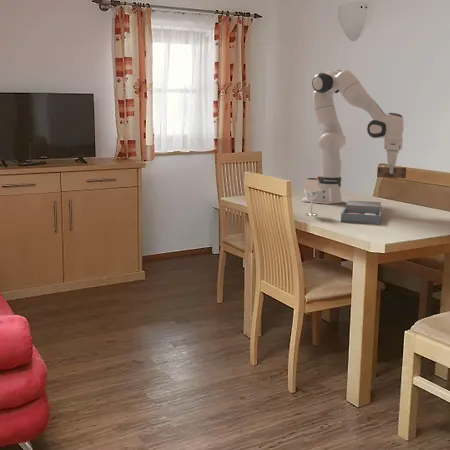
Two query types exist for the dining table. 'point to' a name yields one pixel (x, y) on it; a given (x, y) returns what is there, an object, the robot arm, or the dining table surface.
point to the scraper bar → (396, 174)
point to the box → (361, 216)
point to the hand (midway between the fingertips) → (391, 172)
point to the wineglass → (312, 191)
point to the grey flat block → (363, 205)
